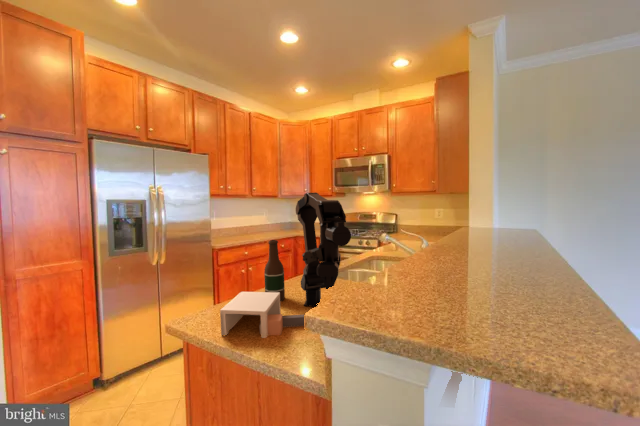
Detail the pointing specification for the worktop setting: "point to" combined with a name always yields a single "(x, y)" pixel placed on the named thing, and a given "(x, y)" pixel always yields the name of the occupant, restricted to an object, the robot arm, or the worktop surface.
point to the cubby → (250, 309)
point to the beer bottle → (274, 271)
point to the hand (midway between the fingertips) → (330, 288)
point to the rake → (291, 321)
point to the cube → (275, 324)
